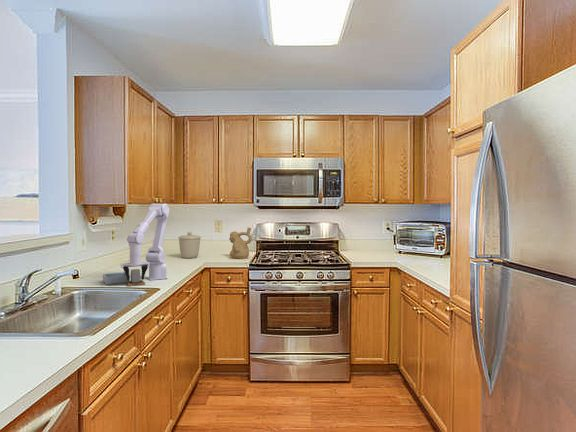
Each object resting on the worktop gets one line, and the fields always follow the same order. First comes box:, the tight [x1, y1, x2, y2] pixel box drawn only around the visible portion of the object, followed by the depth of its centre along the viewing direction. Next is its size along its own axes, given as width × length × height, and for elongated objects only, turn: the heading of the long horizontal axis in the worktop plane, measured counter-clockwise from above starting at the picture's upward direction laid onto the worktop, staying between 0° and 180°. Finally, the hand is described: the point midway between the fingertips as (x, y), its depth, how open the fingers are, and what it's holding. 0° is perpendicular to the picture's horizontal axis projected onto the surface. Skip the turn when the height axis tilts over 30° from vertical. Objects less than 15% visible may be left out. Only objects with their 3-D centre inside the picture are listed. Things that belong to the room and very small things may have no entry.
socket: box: [125, 279, 146, 287], centre depth 206 cm, size 8×8×1 cm
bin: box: [102, 271, 131, 286], centre depth 211 cm, size 12×12×4 cm
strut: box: [130, 268, 141, 284], centre depth 206 cm, size 4×4×8 cm
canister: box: [177, 231, 202, 259], centre depth 305 cm, size 18×18×21 cm
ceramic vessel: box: [229, 227, 253, 260], centre depth 307 cm, size 17×20×25 cm
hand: (135, 279), depth 206 cm, fingers open, 7 cm apart
